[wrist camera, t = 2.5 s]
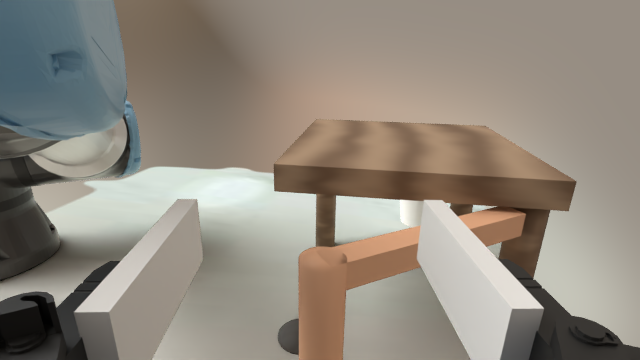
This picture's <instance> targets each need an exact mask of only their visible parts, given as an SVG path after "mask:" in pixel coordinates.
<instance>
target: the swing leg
mask: <svg viewBox="0 0 640 360" xmlns="http://www.w3.org/2000/svg"><path fill="white" fill-rule="evenodd" d="M525 216H526V214H525V213H523V212H520V211H518V210H515V209H513V208H510V207H500V206H498V207H494V208H490V209H486V210H482V211H478V212H474V213H469V214H465V215H461V216H458V217H459V218H460V219H461V221H462V222H463V223H464V224H465V225H466V226H467V227H468V228H469V229H470V230H471V231H472V232H473V233H474V234H475V235H476V236H477V238H478V239H479V240H480V241H481V242H482V243H483V244H484V245H485V246H486V247H487V246H490V245H493V244H497V243H500V242H503V241H506V240H509V239H513V238H516V237H519V236H521V234H522V229H523V225H524V220H525ZM420 227H421V226H416V227H412V228H408V229H404V230H400V231H396V232H392V233H388V234H384V235H380V236H376V237H372V238H368V239H363V240H359V241H355V242H351V243H347V244H343V245H339V246H335V247H313V248H309V249H307V250H305V251H303V252H302V253H301V254H300V256H299V360H343V341H344V320H345V299H346V290H349V289H352V288H355V287H358V286H361V285H365V284H368V283H371V282H374V281H378V280H381V279H384V278H387V277H390V276H394V275H397V274H400V273H403V272H406V271H410V270H413V269H416V268H419V267H421V266H420V264H419V262H418V260H417V252H418V243H419V235H420Z"/></svg>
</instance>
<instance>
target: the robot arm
mask: <svg viewBox="0 0 640 360" xmlns="http://www.w3.org/2000/svg"><path fill="white" fill-rule="evenodd" d="M126 97H127V80H126V69H125V59H124V52H123V46H122V41H121V36H120V29H119V24H118V19H117V15H116V11H115V6H114V2H113V0H0V280H2V279H5V278H8V277H11V276H14V275H17V274H19V273H22V272H24V271H26V270H29V269H31V268H33V267H35V266H37V265H39V264H40V263H42V262H44V261H45V260H47V259H48V258H50V257H51V256H52V255H53V254H54V253H55V252H56V251H57V250H58V248H59V247H60V239H59V236H58V232H57V229H56V228H55V226H54V225H53V224H52V223H51V221H50V220H49V218H48V217H47V216H46V214H45V213H44V212H43V211H42V209H41V208H40V207H39V205H38V204H37V203H36V201H35V200H34V196H33V193H32V189H31V186H38V185H45V184H54V183H62V182H71V181H79V180H89V179H97V178H107V177H123V176H124V175H129V174H134V173H136V172H137V171H138V170H139V168H140V164H141V158H140V155H141V154H140V153H141V148H140V137H139V130H138V124H137V119H136V116H135V112H134V110H133V107H132V105H131V103H130V102H128V101H126ZM417 260H418V262H419V264H420V266H421V268H422V270H423V272H424V273H425V275H426V277H427V279H428V281H429V283H430V285H431V286H432V288H433V290H434V292H435V294H436V296H437V297H438V299H439V301H440V303H441V305H442V307H443V309H444V310H445V312H446V314H447V316H448V318H449V320H450V322H451V323H452V325H453V327H454V329H455V331H456V333H457V335H458V336H459V338H460V340H461V342H462V344H463V346H464V348H465V349H466V351H467V353H468V355H469V357H470V359H471V360H640V348H638V347H633V346H629V345H624V344H623V343H622V342H621V341H620V339H619V338H618V336H616V335H615V334H614V333H612V332H611V331H610V330H609V329H607V328H605V327H604V326H602V325H600V324H598V323H596V322H593V321H591V320H588V319H585V318H581V317H575V316H571V315H570V314H569V313H568V312H567V311H566V310H565V309H564V308H563V307H562V306H561V305H560V304H559V303H558V302H557V301H556V300H555V299H554V298H553V297H552V296H551V295H550V294H549V293H548V292H547V291H546V290H545V289H542V286H541V285H540V284H539V283H538V282H537V281H536V280H533V277H532V276H530V275H529V274H528V273H527V272H526V271H525V270H524V269H523V268H522V267H521V266H519V265H517V264H515V263H514V262H512V261H510V260H508V259H497V258H496V257H495V256H494V255H493V254H492V252H491V251H490V250H489V249H488V248H487V247H486V246H485V245H484V244H483V243H482V242H481V241H480V240H479V239H478V238H477V236H476V235H475V234H474V233H473V232H472V231H471V230H470V229H469V228H468V227H467V226H466V225H465V224H464V223H463V222H462V221H461V219H460V218H459V217H458V216H457V215H456V214H455V213H454V212H453V211H452V210H451V209H450V208H449V207H448V206H447V205H446V204H445V202H444V201H443V200H424V202H423V210H422V219H421V227H420V235H419V243H418V252H417ZM202 261H203V250H202V241H201V231H200V222H199V212H198V203H197V199H178V200H177V201H176V202H175V203H174V204H173V205H172V206H171V207H170V208H169V209H168V210H167V211H166V213H165V214H164V215H163V216H162V217H161V218H160V219H159V220H158V221H157V222H156V223H155V225H154V226H153V227H152V228H151V229H150V230H149V231H148V232H147V233H146V234H145V235H144V236H143V238H142V239H141V240H140V241H139V242H138V243H137V244H136V245H135V246H134V247H133V248H132V250H131V251H130V252H129V253H128V254H127V255H126V256H125V257H124V258H123V259H122V260H121V261H110V262H108V263H106V264H104V265H103V266H101V267H99V268H98V269H96V270H94V271H93V272H92V273H91V274H90V275H89V276H88V277H87V278H86V279H85V280H84V281H83V283H81V284H80V285H79V286H78V287H77V288H76V289H75V290H74V293H71V294H70V295H69V296H68V297H67V298H66V299H65V300H64V301H63V302H62V303H61V304H60V305H59V306H58V307H57V308H56V306H55V302H54V298H53V296H52V295H50V294H49V293H47V292H30V293H23V294H20V295H16V296H13V297H10V298H7V299H5V300H3V301H1V302H0V360H152V358H153V356H154V354H155V352H156V350H157V348H158V346H159V344H160V342H161V340H162V338H163V336H164V335H165V333H166V331H167V329H168V327H169V325H170V323H171V321H172V319H173V317H174V315H175V313H176V311H177V309H178V308H179V306H180V304H181V302H182V300H183V298H184V296H185V294H186V292H187V290H188V288H189V286H190V284H191V282H192V281H193V279H194V277H195V275H196V273H197V271H198V269H199V267H200V265H201V263H202Z"/></svg>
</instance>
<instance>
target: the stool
mask: <svg viewBox="0 0 640 360" xmlns="http://www.w3.org/2000/svg"><path fill="white" fill-rule="evenodd" d="M575 185H576V181H575V180H573V179H572V178H570V177H568V176H567V175H565V174H563V173H562V172H560V171H558V170H557V169H555V168H554V167H552V166H550V165H549V164H547V163H545V162H544V161H542V160H540V159H538V158H537V157H535V156H534V155H532V154H530V153H529V152H527V151H526V150H524V149H522V148H521V147H519V146H517V145H516V144H514V143H512V142H511V141H509V140H507V139H506V138H504V137H502V136H501V135H499V134H498V133H496V132H494V131H493V130H491V129H489V128H488V127H486V126H474V125H449V124H425V123H400V122H374V121H350V120H324V119H316V120H315V121H314V122H313V123H312V124H311V125H310V126H309V127H308V128H307V130H306V131H305V132H304V133H303V134H302V135H301V136H300V137H299V138H298V139H297V140H296V141H295V142H294V143H293V144H292V145H291V146H290V148H288V149H287V150H286V152H285V153H284V154H283V155H282V156H281V157H280V158H279V159H278V160H277V161H276V162H275V163H274V191H279V192H294V193H309V194H316V247H334V240H335V210H336V195H338V196H353V197H368V198H382V199H397V200H412V201H424V200H443V201H444V202H445V203H451V206H450V209H451V210H452V211H453V212H454V213H455V214H456V215H457V216H461V215H465V214H469V213H472V208H473V205H486V206H500V207H510V208H513V209H515V210H518V211H520V212H523V213H525V214H526V216H525V220H524V225H523V229H522V234H521V236H519V237H516V238H513V239H509V240H506V241H503V242H502V245H501V250H500V255H499V259H508V260H510V261H512V262H514V263H515V264H517V265H519V266H521V267H522V268H523V269H524V270H525V271H526V272H527V273H528V274H529V275H530V276H532V277H534V273H535V269H536V265H537V261H538V257H539V253H540V249H541V245H542V241H543V237H544V233H545V229H546V225H547V221H548V217H549V213H550V210H560V211H569V207H570V203H571V200H572V196H573V193H574V189H575ZM278 341H279V343H280V345H281V347H282V348H283V349H285V350H286V351H288V352H290V353H293V354H299V319H295V320H291V321H289V322H287V323H286V324H284V325H283V326H282V327H281V329H280V331H279V333H278Z"/></svg>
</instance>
